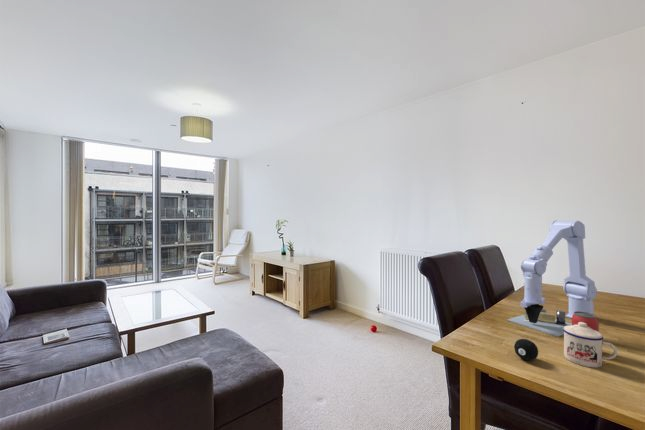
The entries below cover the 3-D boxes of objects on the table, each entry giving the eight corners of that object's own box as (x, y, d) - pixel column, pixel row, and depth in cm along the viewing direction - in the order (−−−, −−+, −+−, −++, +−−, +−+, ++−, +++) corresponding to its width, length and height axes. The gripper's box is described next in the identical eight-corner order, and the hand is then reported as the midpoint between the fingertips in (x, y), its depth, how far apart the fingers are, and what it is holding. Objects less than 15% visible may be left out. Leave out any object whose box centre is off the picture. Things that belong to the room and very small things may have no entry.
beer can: (604, 356, 90) (604, 318, 90) (580, 353, 91) (580, 316, 91) (589, 346, 96) (589, 311, 96) (566, 344, 97) (567, 310, 97)
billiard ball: (541, 360, 87) (541, 341, 87) (533, 366, 83) (533, 346, 83) (519, 352, 92) (519, 334, 92) (510, 357, 88) (510, 338, 88)
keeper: (535, 313, 126) (535, 307, 126) (546, 316, 123) (546, 309, 123) (532, 314, 125) (533, 307, 125) (543, 317, 122) (543, 310, 122)
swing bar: (553, 321, 117) (554, 310, 117) (555, 322, 115) (555, 312, 115) (524, 316, 122) (524, 306, 122) (525, 318, 120) (525, 308, 120)
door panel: (530, 313, 128) (530, 312, 128) (581, 327, 112) (581, 326, 112) (507, 320, 119) (507, 319, 119) (558, 336, 103) (558, 335, 103)
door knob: (557, 321, 117) (557, 309, 117) (568, 324, 114) (568, 312, 114) (553, 323, 115) (553, 311, 116) (564, 326, 112) (564, 313, 112)
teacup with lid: (562, 360, 86) (562, 323, 86) (563, 350, 93) (563, 315, 93) (618, 376, 78) (618, 334, 78) (616, 363, 85) (616, 325, 85)
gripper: (534, 293, 107) (534, 329, 107) (553, 289, 114) (553, 322, 114) (515, 289, 113) (514, 322, 113) (533, 285, 120) (533, 316, 120)
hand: (532, 322), depth 114 cm, fingers closed
